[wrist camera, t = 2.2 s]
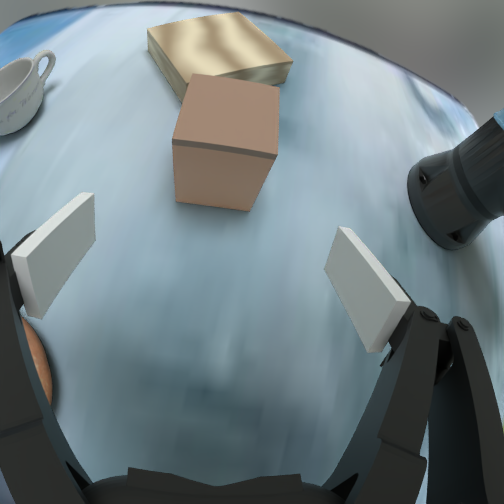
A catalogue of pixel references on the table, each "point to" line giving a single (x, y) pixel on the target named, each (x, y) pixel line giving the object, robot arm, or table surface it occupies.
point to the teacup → (22, 91)
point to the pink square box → (224, 141)
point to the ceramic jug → (39, 359)
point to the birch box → (216, 51)
